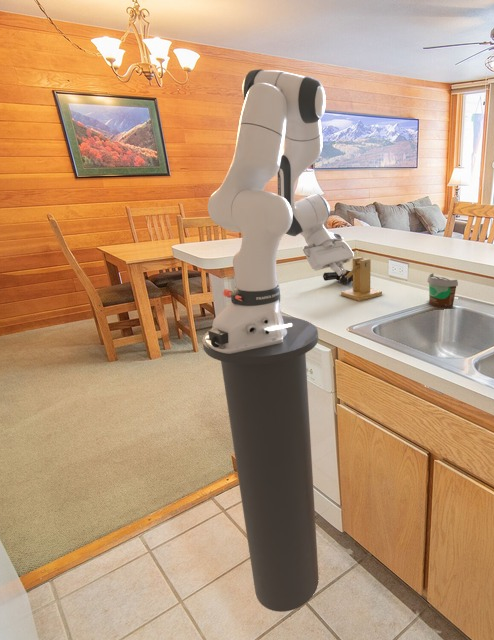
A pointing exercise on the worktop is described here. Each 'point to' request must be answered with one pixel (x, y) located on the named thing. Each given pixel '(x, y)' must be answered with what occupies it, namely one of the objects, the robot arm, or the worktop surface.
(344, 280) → the latch lever
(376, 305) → the worktop surface
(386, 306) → the worktop surface
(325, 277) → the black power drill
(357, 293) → the lever stand
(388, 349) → the worktop surface
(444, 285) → the food container
